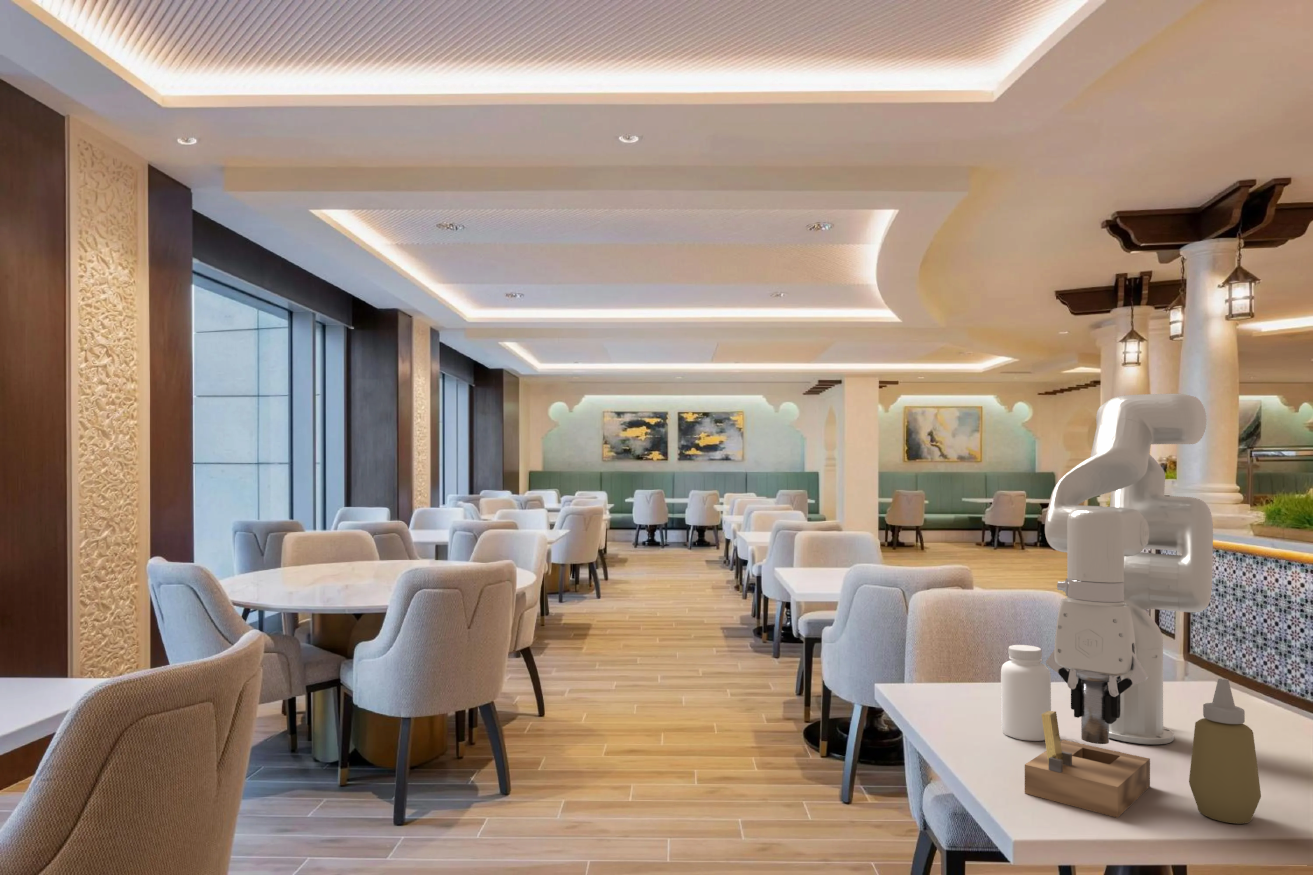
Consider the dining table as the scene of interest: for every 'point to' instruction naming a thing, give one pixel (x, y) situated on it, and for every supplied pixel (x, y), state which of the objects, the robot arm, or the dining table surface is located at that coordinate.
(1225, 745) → the squeeze bottle
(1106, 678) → the steel pin
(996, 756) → the dining table surface
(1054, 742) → the bar
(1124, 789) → the block
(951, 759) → the dining table surface
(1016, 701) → the pill bottle
